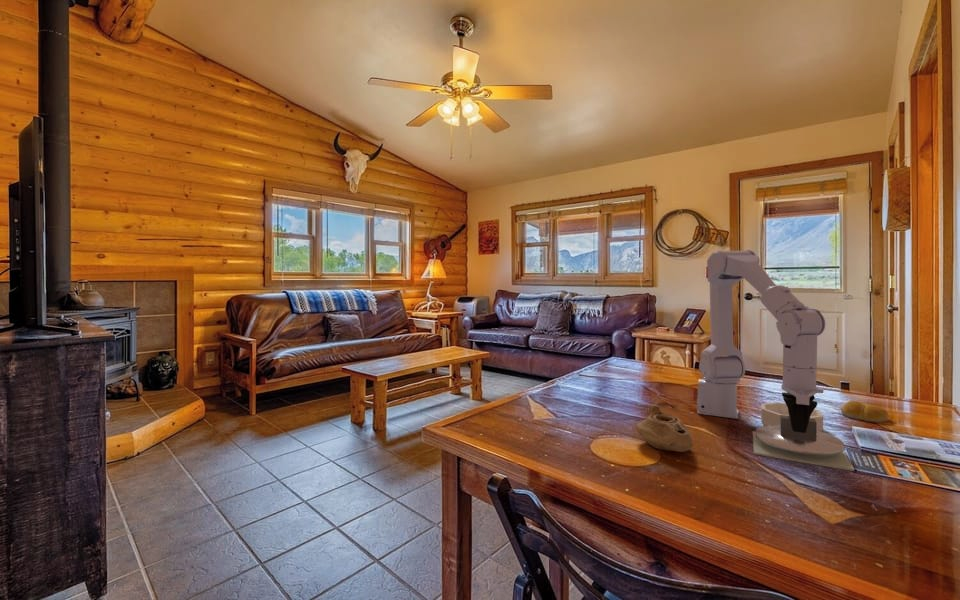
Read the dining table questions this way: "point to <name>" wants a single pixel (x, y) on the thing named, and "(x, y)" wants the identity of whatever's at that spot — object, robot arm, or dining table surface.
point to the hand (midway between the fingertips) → (798, 429)
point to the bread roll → (864, 412)
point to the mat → (802, 456)
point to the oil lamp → (664, 431)
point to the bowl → (774, 410)
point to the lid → (799, 439)
